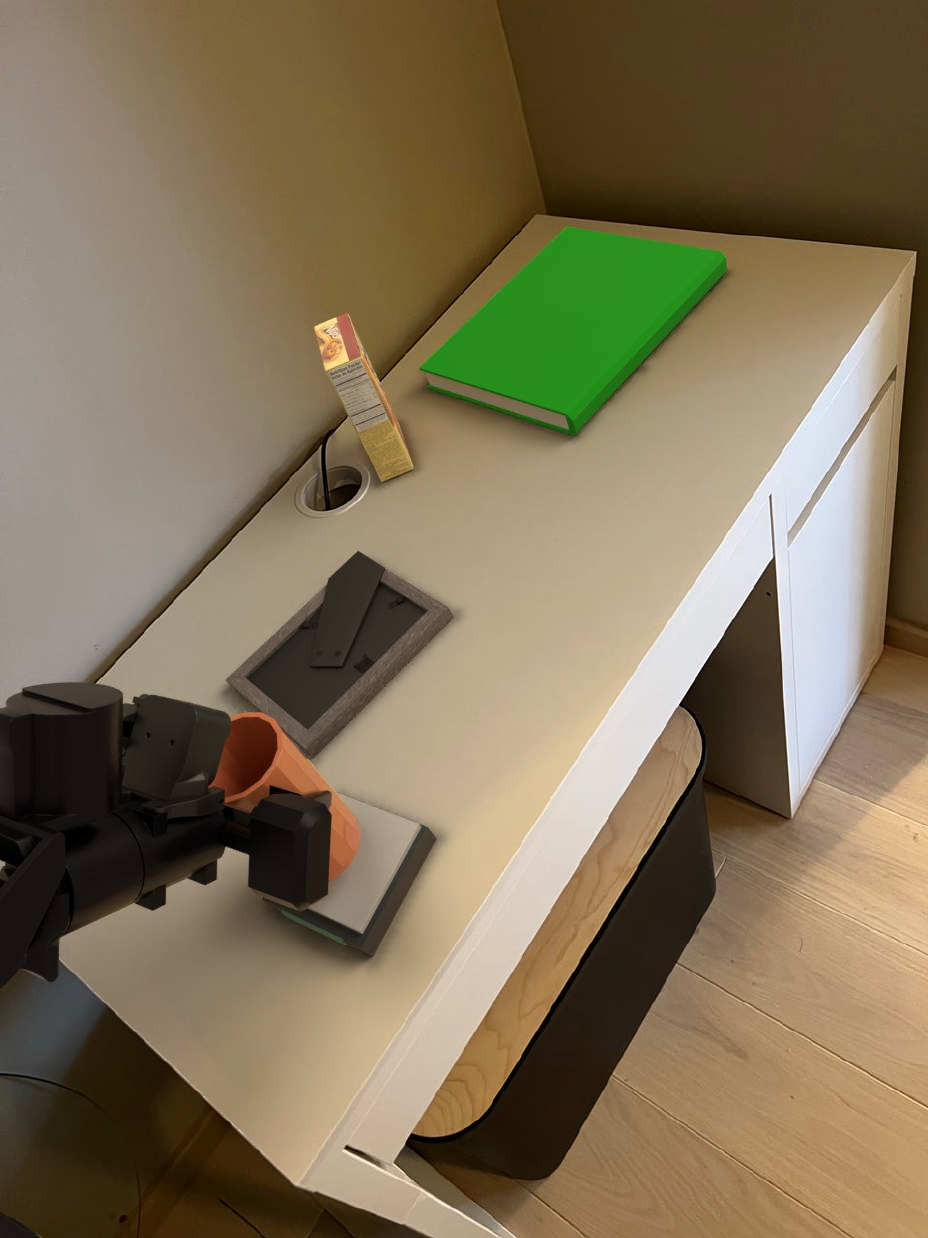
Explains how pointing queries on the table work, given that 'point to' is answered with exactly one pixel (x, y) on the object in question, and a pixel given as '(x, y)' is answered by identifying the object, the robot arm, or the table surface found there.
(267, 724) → the cup
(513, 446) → the table surface
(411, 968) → the table surface
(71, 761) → the robot arm
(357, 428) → the candy box
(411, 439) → the table surface
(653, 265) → the book
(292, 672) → the picture frame
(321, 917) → the scale
